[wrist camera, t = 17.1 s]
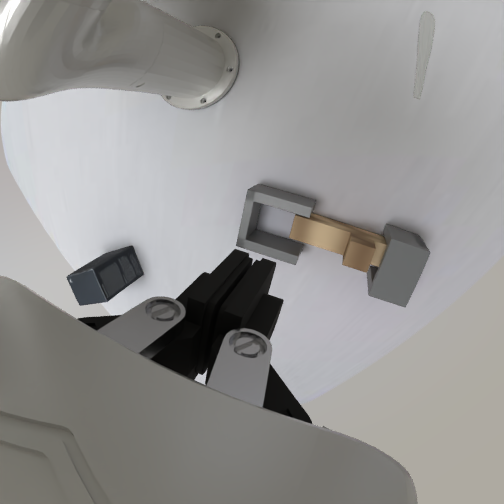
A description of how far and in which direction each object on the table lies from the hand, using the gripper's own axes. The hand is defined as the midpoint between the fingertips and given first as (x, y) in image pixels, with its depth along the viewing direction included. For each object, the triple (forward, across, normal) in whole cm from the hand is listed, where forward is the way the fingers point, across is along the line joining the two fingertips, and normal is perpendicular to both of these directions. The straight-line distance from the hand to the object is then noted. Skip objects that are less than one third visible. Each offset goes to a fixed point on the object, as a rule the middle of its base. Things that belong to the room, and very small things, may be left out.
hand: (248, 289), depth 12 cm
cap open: (+29, +4, +6) cm, 30 cm away
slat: (+29, -6, +6) cm, 30 cm away
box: (+29, +29, +22) cm, 46 cm away
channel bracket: (+29, -12, +6) cm, 32 cm away
